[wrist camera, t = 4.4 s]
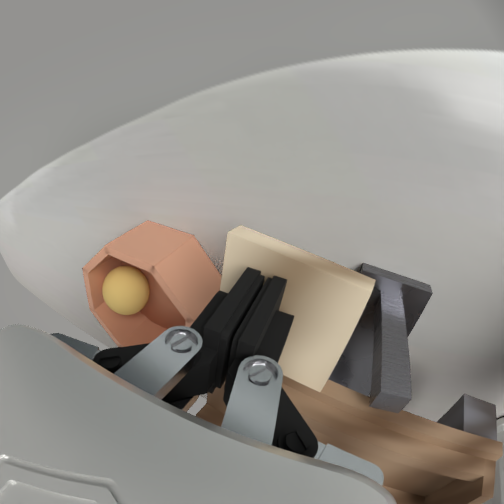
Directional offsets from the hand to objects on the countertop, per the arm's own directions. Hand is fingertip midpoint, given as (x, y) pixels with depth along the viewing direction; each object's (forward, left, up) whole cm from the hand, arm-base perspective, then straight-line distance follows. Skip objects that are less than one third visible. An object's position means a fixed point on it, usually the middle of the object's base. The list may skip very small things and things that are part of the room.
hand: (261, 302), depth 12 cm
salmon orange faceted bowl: (+10, +8, -8) cm, 15 cm away
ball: (+12, +8, -5) cm, 15 cm away
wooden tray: (-8, +5, -3) cm, 10 cm away
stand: (-7, +8, -8) cm, 13 cm away
